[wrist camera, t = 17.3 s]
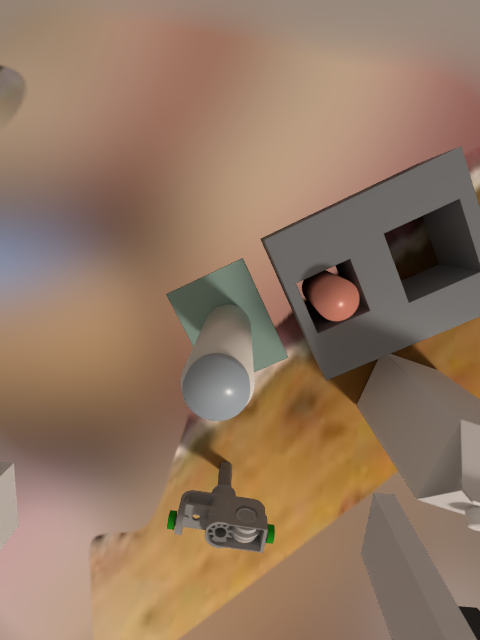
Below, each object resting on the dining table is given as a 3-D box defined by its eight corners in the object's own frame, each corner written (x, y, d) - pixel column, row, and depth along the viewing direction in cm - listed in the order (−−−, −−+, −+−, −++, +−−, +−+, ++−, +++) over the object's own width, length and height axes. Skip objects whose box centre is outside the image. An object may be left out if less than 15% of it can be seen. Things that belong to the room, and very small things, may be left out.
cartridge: (203, 346, 39) (176, 421, 23) (206, 302, 38) (179, 350, 22) (248, 350, 39) (250, 428, 23) (253, 306, 38) (258, 357, 22)
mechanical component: (185, 450, 43) (168, 514, 33) (269, 462, 43) (276, 530, 33) (183, 471, 43) (165, 540, 34) (265, 483, 43) (270, 555, 34)
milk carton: (380, 350, 39) (501, 453, 21) (439, 370, 40) (607, 489, 21) (355, 404, 41) (445, 546, 22) (411, 423, 41) (545, 577, 23)
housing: (260, 238, 36) (263, 240, 30) (418, 163, 34) (461, 146, 28) (312, 355, 39) (325, 380, 33) (460, 291, 37) (508, 304, 31)
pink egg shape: (296, 278, 36) (309, 289, 29) (329, 263, 36) (350, 271, 29) (309, 309, 37) (325, 327, 30) (341, 295, 37) (365, 310, 30)
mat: (167, 293, 38) (166, 294, 38) (242, 258, 37) (242, 258, 37) (215, 387, 41) (215, 388, 40) (288, 356, 39) (288, 357, 39)
